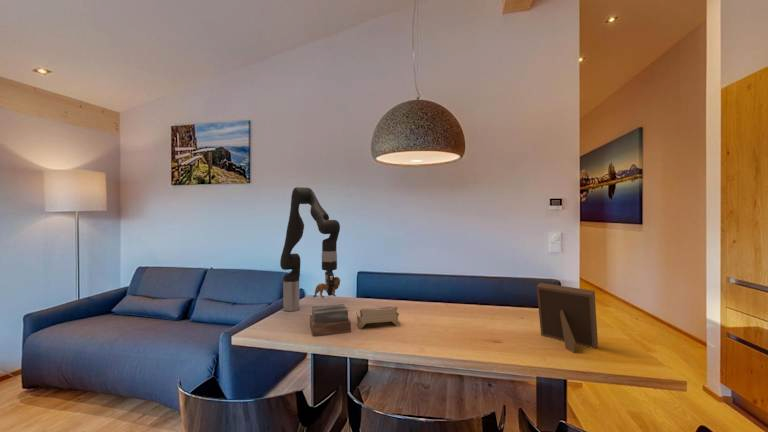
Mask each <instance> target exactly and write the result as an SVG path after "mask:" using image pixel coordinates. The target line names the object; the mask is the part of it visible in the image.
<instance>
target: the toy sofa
mask: <svg viewBox="0 0 768 432" xmlns="http://www.w3.org/2000/svg"><path fill="white" fill-rule="evenodd" d="M355 314H356V324H357V327H358V328H359V330H363V328H364V326H366V324H375V323H387V322H392V323H393V324H394V325H395V326H396V327H397V326H399V323H398V322H399V317H400V313H399V312H398V306H395V305H394V306H388V307H379V308H361V309H360V310H359V311H355Z"/></svg>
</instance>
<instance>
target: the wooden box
mask: <svg viewBox="0 0 768 432" xmlns="http://www.w3.org/2000/svg"><path fill="white" fill-rule="evenodd" d="M309 328H310V331H311V335H312V337H313V336H314V337H321V336H330V335H338V334H348V333H351V332H352V322H351V320H350V318H349V311H348V309H347V307H346V305H345V304H344V303H343V304H342V303H341V304H329V305H328V304H326V305H317V306H311V315H309Z"/></svg>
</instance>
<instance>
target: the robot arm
mask: <svg viewBox="0 0 768 432" xmlns="http://www.w3.org/2000/svg"><path fill="white" fill-rule="evenodd" d="M300 205H309V206H310V216H311V217H312V219H313V220H314V221H315V222H316V226H317V229H318V231H319V233H320V234H322V235H329V236H328V237H327V238H324V239H323V240H322V241H321V244H322V245H321V247H322V248H321V249H322V250H321V270H322V271H325V272H324V280H325V281H324V284H328V291H325V293H326V294H327V296H328V297H329V296H330V297H331V296H333V287H334V278H335V273H334V272H333V271H337V269H338V253H337V252H338V251H337V241H338V238H339V235H340V231H341V225H340V222H339V221H338V220H336V219H330V216H329V213H327V212H326V211H325V209H324V208H323V207H322V205H321V204H320V202H319V200H318V198H317V196H316V194H315V192H314V190H313V189H311V188H310V187H299V186H297V187H294V188H293V189H292V192H291V199H290V209H289V210H290V211H289V218H288V222H287V227H286V234H285V240H284V245H283V249H282V253H281V256H280V263H279V266H280V268H281V269H282V270H283V271H287V270H291V271H289V273H286V274H285V275H284V276H283V281H282V283H283V285H282V286H283V287H282V289H283V290H282V291H283V293H282V295H283V299H282V300H283V304H282V305H283V311H284V312H295V311H298V310H300V277H301V257H300V255H299V253H296V252H295V253H292V251H293V249H294V248H295V247H296V245H298V243H299V242H300V241H301V239H302V237H303V235H304V231H305V224H304V220H303V218H302V216H301V214H300ZM330 283H332V285H330Z"/></svg>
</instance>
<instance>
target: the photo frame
mask: <svg viewBox="0 0 768 432" xmlns="http://www.w3.org/2000/svg"><path fill="white" fill-rule="evenodd" d="M595 292H596V291H595V290H592V289H587V288H586V289H585V288H577V287H571V286H564V285H557V284H552V283H543V282H539V283H538V284H537V285H536V295H537V306H538V307H537V308H538V315H539V316H538V317H539V323H540V324H539V326H540V327H539V328H540V335H541V336H542V337H545V338H549V337H550V339H553V338H554V339H553V340H557V339H558V340H557V341H561V340H562V342H564V347H565V349H566V350H567V349H568V350H567V351H569V350H570V351H569V352H571V351H572V352H571V353H573V352H575V351H576V345H577V344H579V345H578V346H580V345H583V346H582V347H584V346H587V347H586V348H588V347H592V348H596V349H597V347H598V345H599V342H598V341H599V340H598V337H599V336H598V326H597V325H598V324H597V309H596V293H595ZM592 348H591V349H592Z"/></svg>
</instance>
